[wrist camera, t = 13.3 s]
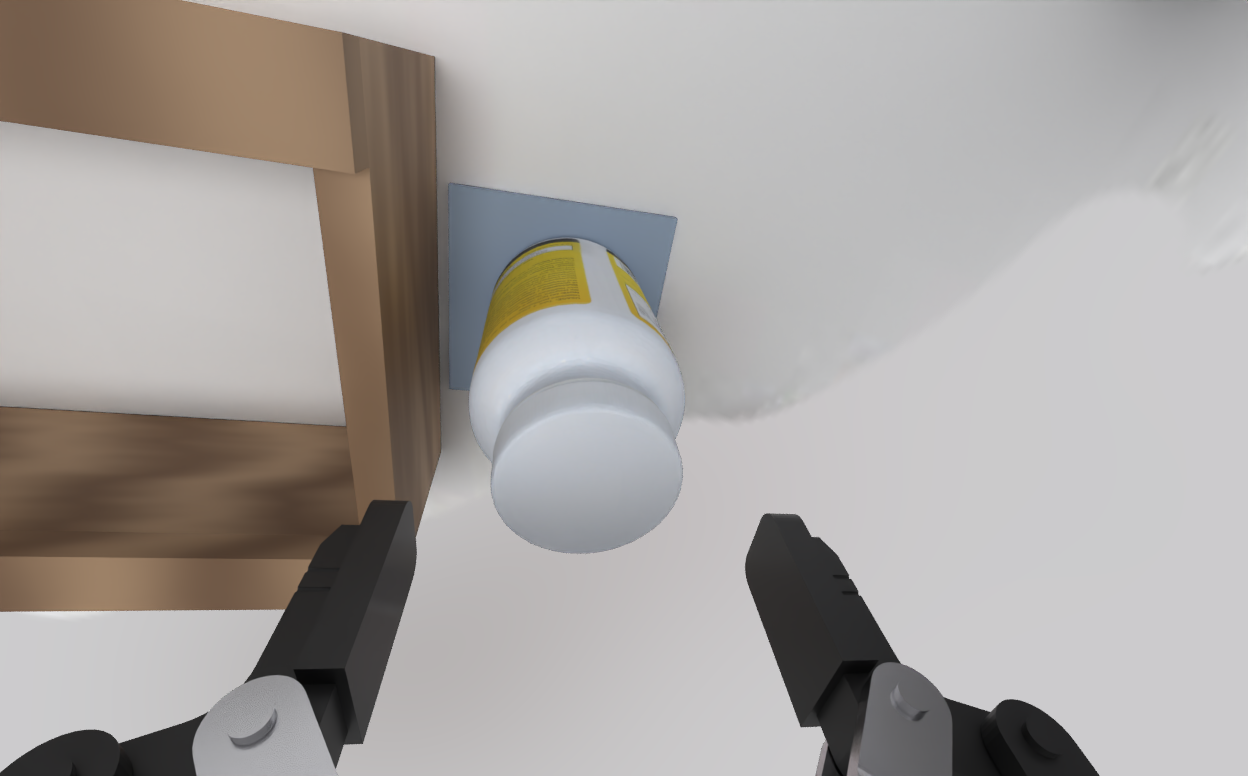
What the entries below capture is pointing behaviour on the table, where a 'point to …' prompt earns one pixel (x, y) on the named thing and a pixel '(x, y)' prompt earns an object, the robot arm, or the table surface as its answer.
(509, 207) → the pad
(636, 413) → the pill bottle
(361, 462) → the crate
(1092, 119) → the table surface
